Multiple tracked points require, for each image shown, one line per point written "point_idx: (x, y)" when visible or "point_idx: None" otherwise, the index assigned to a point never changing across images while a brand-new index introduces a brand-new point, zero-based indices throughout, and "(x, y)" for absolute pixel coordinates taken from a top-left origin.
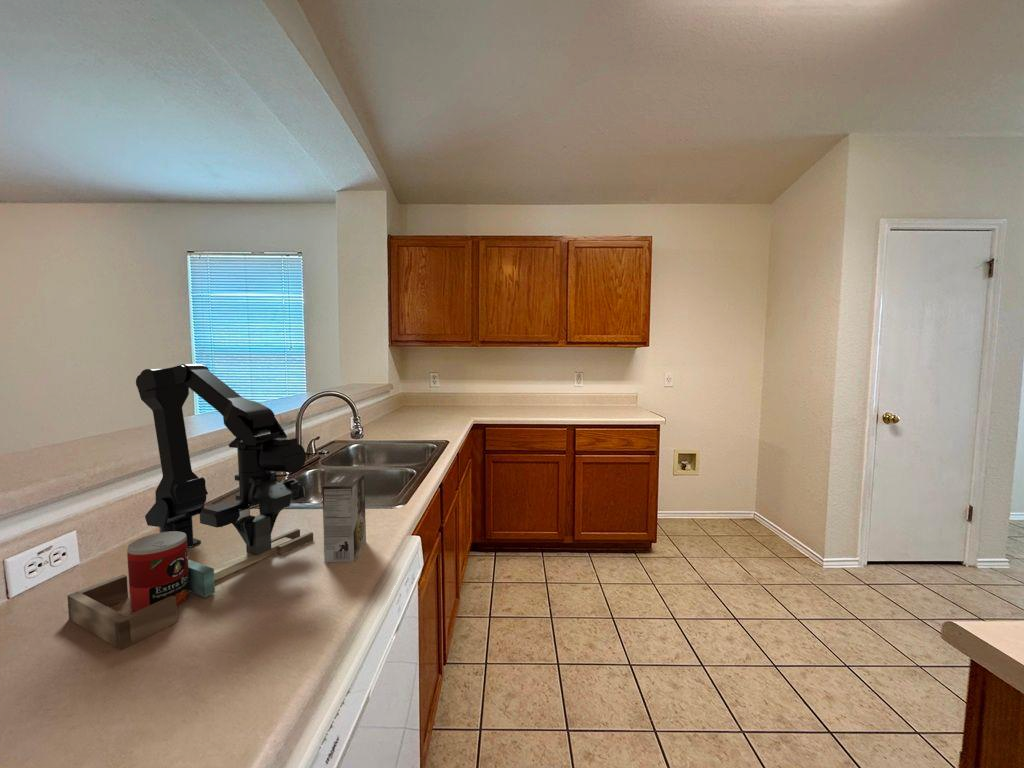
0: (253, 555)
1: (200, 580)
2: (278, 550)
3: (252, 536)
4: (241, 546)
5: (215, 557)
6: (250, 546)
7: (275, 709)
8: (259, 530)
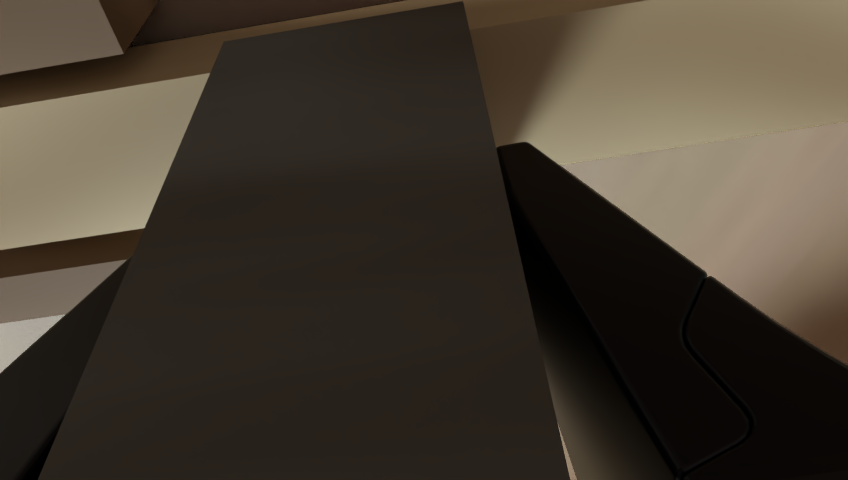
0: (483, 46)
1: None
2: (134, 11)
3: (536, 234)
4: None
5: None
6: (527, 145)
7: None
8: (414, 268)
